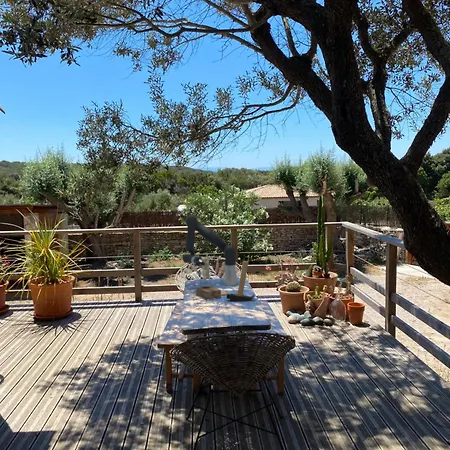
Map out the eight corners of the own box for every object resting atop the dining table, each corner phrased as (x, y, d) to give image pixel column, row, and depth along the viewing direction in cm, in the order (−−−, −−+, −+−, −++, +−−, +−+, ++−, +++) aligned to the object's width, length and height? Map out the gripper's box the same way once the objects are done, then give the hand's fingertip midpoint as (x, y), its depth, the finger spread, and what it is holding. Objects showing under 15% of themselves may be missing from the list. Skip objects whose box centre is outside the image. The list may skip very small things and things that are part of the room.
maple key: (207, 278, 333) (206, 257, 331) (209, 278, 329) (208, 258, 328) (202, 278, 331) (201, 258, 329) (204, 279, 327) (204, 258, 326)
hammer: (252, 302, 316) (259, 263, 314) (253, 304, 311) (260, 264, 309) (226, 298, 315) (232, 258, 313) (226, 299, 310) (233, 259, 308)
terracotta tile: (221, 291, 342) (221, 290, 342) (229, 294, 332) (229, 293, 331) (213, 292, 338) (213, 291, 338) (220, 296, 328) (220, 294, 328)
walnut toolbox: (210, 293, 338) (210, 285, 338) (220, 297, 322) (220, 289, 322) (196, 295, 332) (196, 287, 332) (206, 300, 317) (206, 292, 316)
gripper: (189, 257, 338) (198, 260, 323) (205, 255, 344) (215, 257, 329) (189, 266, 338) (198, 269, 323) (205, 264, 345) (215, 267, 330)
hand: (207, 263), depth 326 cm, fingers closed on maple key, 4 cm apart
